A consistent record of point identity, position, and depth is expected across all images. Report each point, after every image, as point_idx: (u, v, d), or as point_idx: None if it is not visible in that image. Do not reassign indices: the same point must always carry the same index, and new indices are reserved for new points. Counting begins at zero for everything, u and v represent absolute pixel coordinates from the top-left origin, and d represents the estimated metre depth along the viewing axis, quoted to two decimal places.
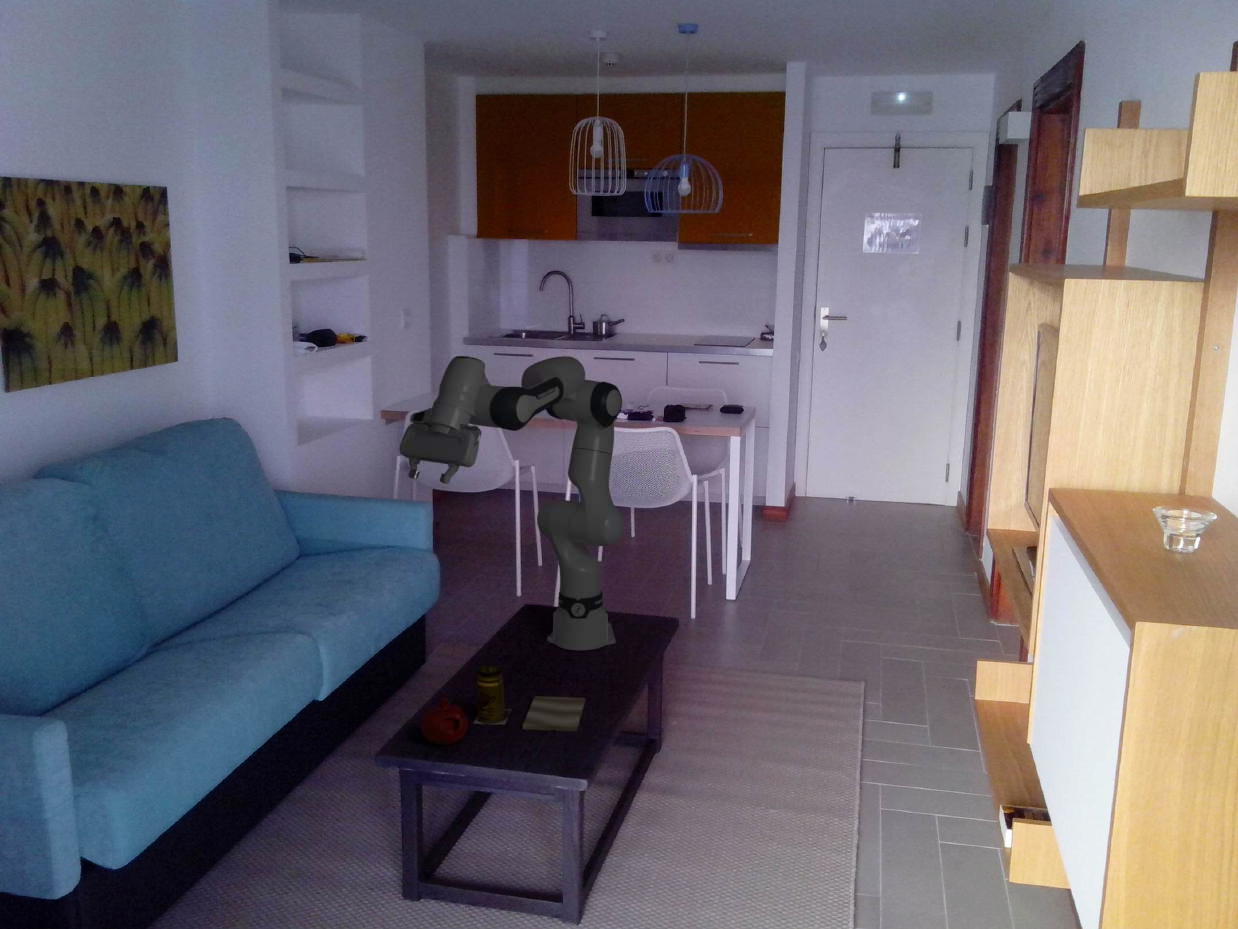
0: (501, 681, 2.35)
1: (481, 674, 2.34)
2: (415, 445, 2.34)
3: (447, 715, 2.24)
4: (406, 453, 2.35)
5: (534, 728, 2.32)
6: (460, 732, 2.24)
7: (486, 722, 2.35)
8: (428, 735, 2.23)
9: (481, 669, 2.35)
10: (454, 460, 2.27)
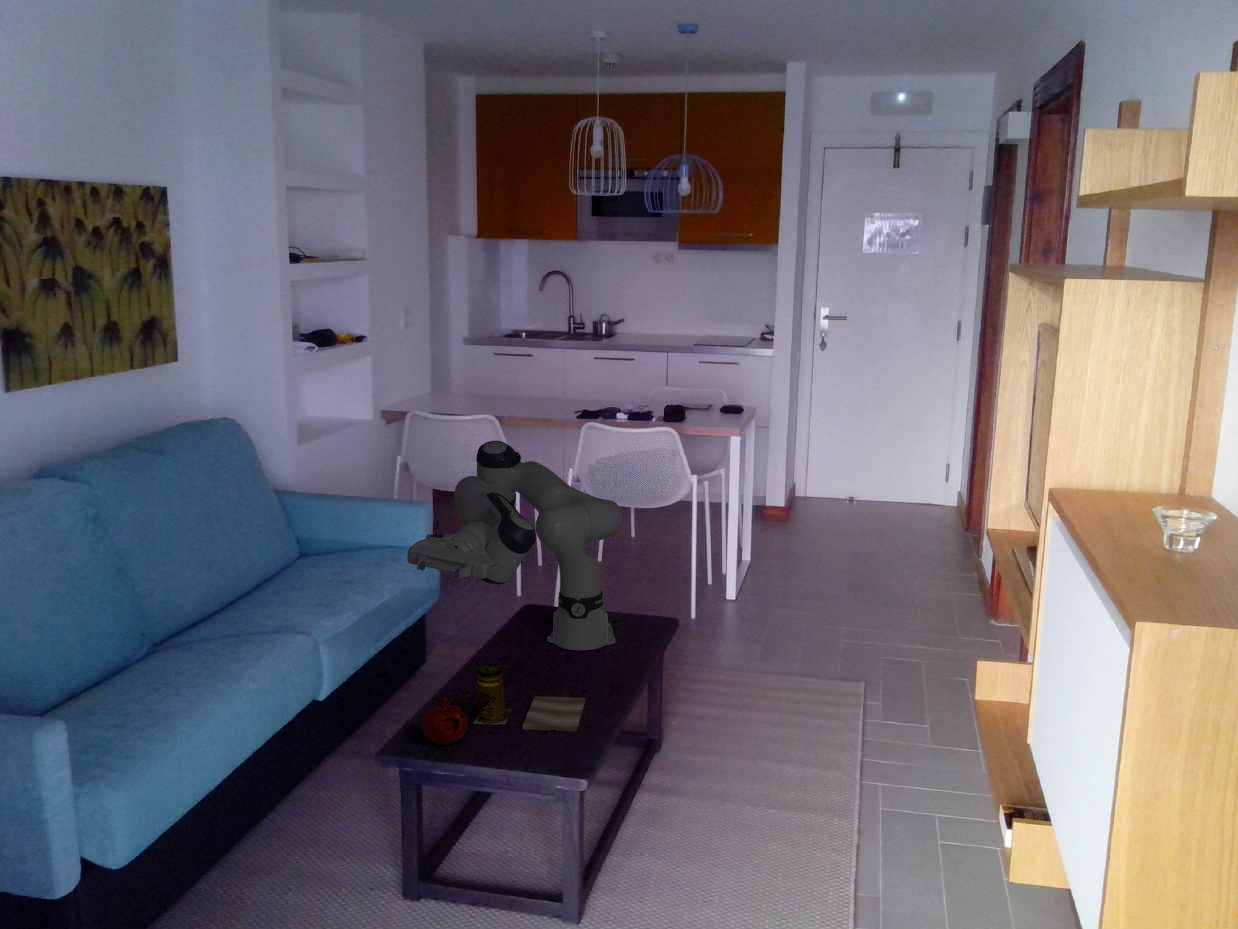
0: (501, 681, 2.35)
1: (481, 674, 2.34)
2: (429, 550, 2.52)
3: (447, 715, 2.24)
4: (418, 551, 2.50)
5: (534, 728, 2.32)
6: (460, 732, 2.24)
7: (486, 722, 2.35)
8: (428, 735, 2.23)
9: (481, 669, 2.35)
10: (475, 563, 2.48)
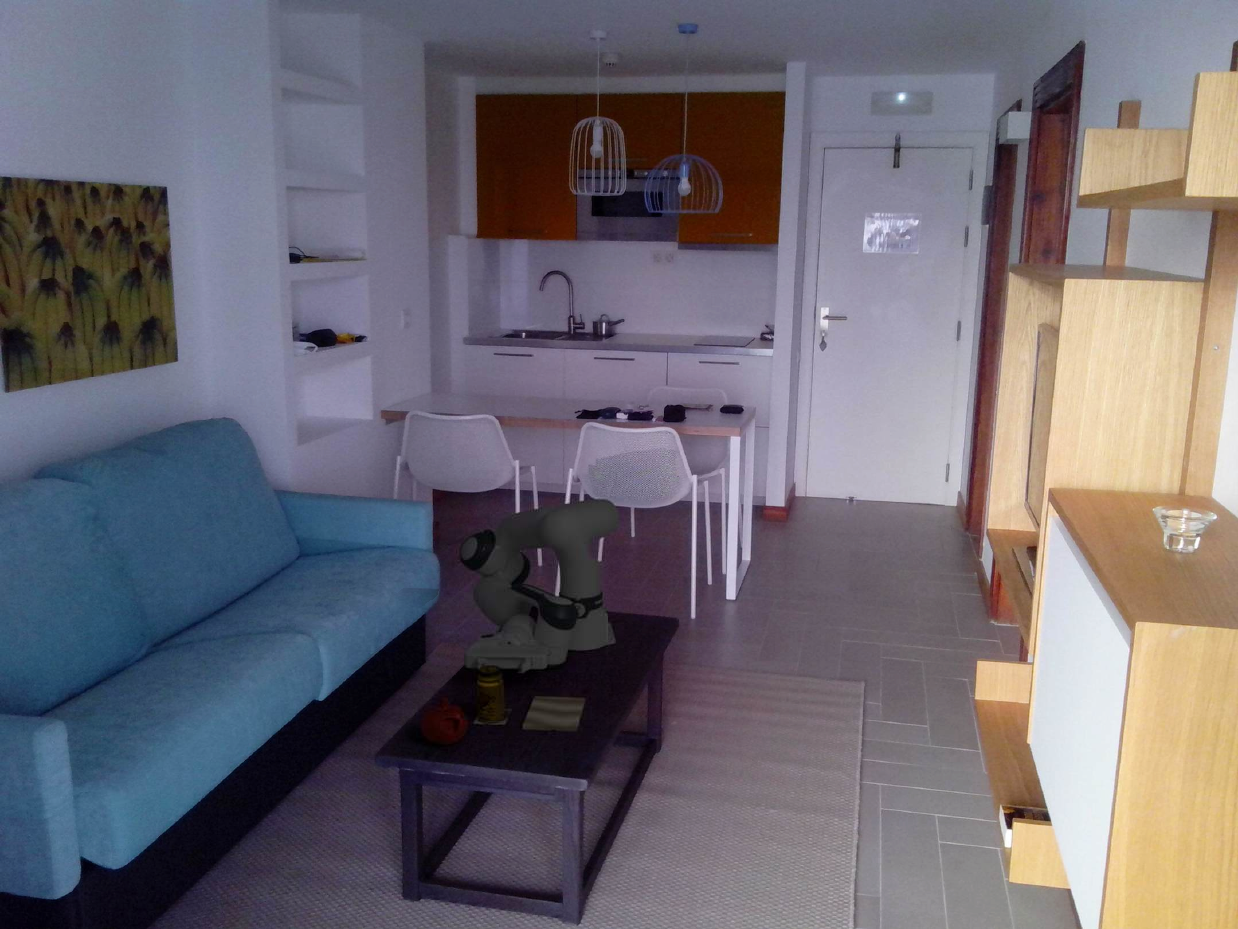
0: (501, 681, 2.35)
1: (481, 674, 2.34)
2: (484, 651, 2.54)
3: (447, 715, 2.24)
4: (474, 654, 2.52)
5: (534, 728, 2.32)
6: (460, 732, 2.24)
7: (486, 722, 2.35)
8: (428, 735, 2.23)
9: (481, 669, 2.35)
10: (534, 655, 2.51)
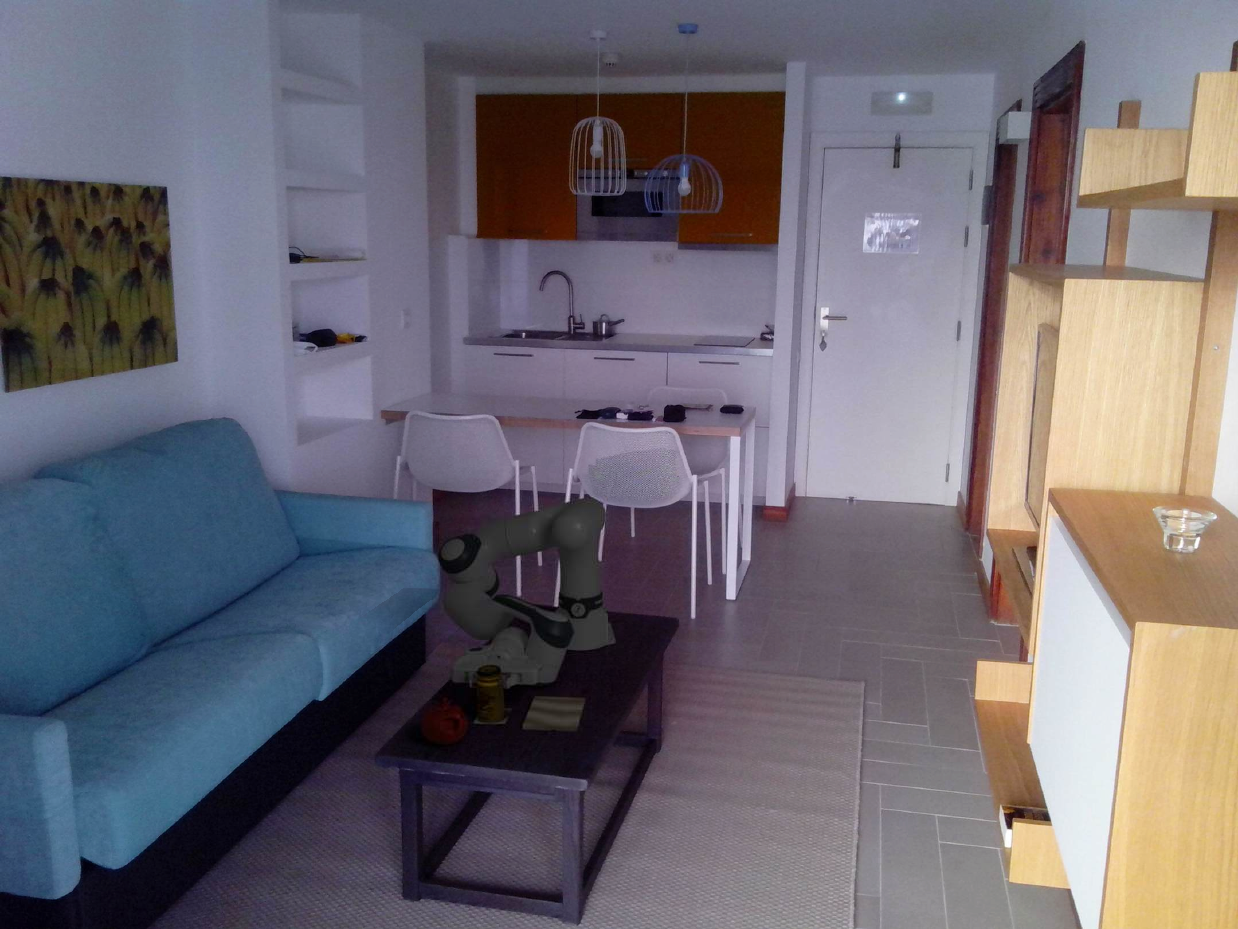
0: (500, 680, 2.35)
1: (480, 673, 2.34)
2: (472, 665, 2.43)
3: (447, 715, 2.24)
4: (462, 668, 2.41)
5: (534, 728, 2.32)
6: (460, 732, 2.24)
7: (486, 722, 2.35)
8: (428, 735, 2.23)
9: (480, 669, 2.35)
10: (524, 670, 2.39)
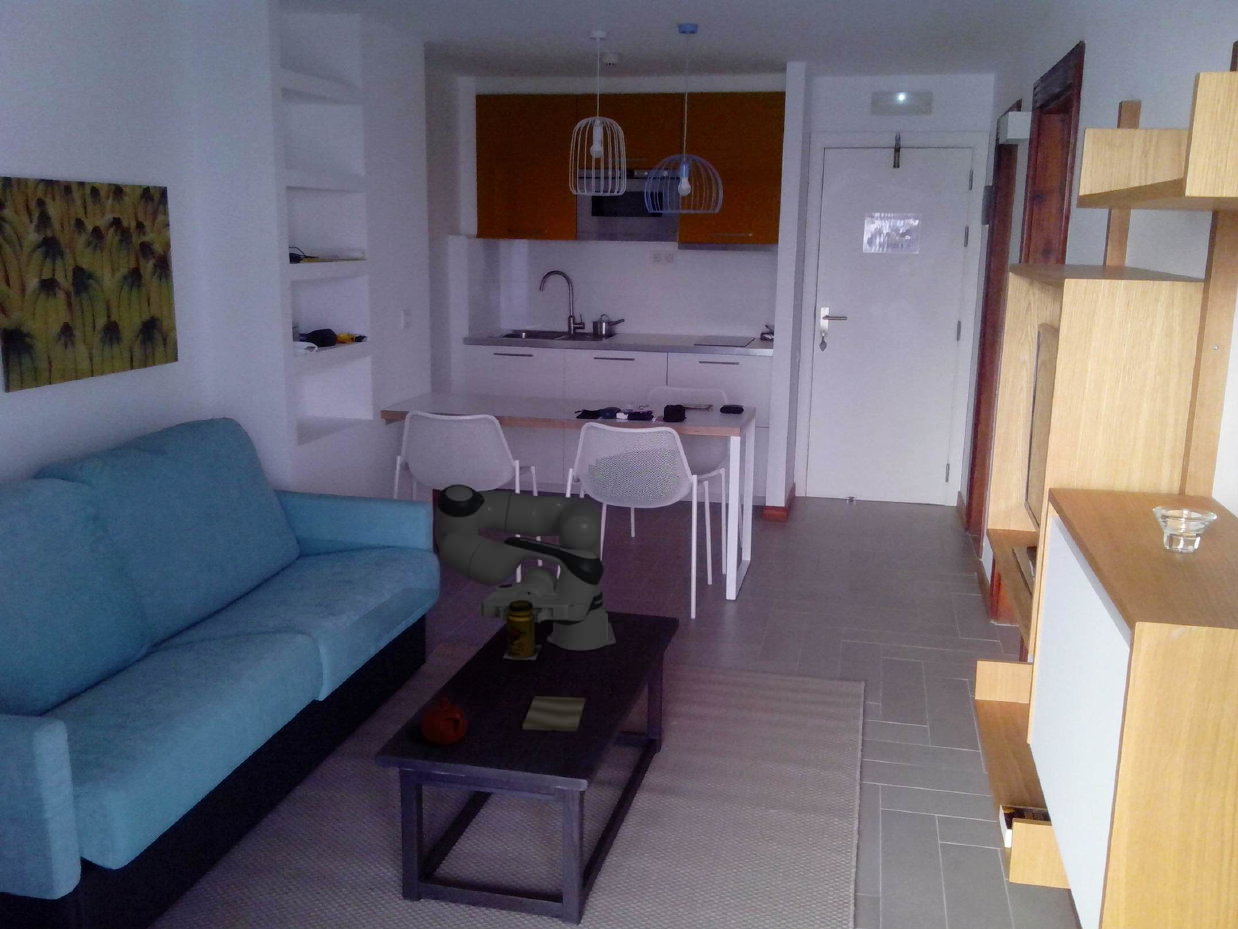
0: (532, 616, 2.32)
1: (512, 608, 2.31)
2: (502, 600, 2.40)
3: (447, 715, 2.24)
4: (492, 603, 2.38)
5: (534, 728, 2.32)
6: (460, 732, 2.24)
7: (516, 657, 2.32)
8: (428, 735, 2.23)
9: (512, 603, 2.33)
10: (555, 605, 2.37)
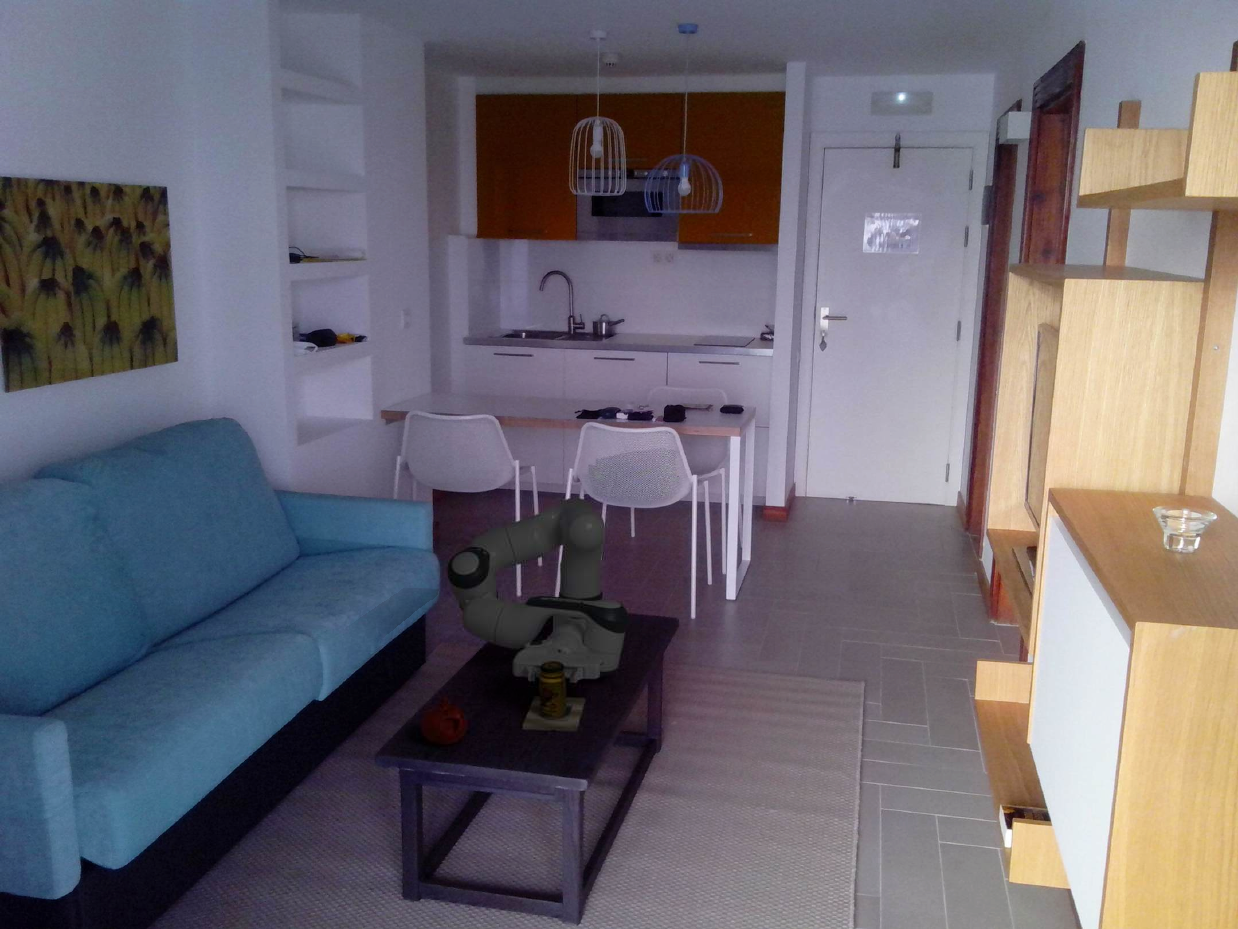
0: (563, 677, 2.35)
1: (544, 670, 2.33)
2: (534, 659, 2.42)
3: (447, 715, 2.24)
4: (523, 662, 2.40)
5: (534, 728, 2.32)
6: (460, 732, 2.24)
7: (548, 718, 2.34)
8: (428, 735, 2.23)
9: (543, 665, 2.35)
10: (586, 664, 2.38)
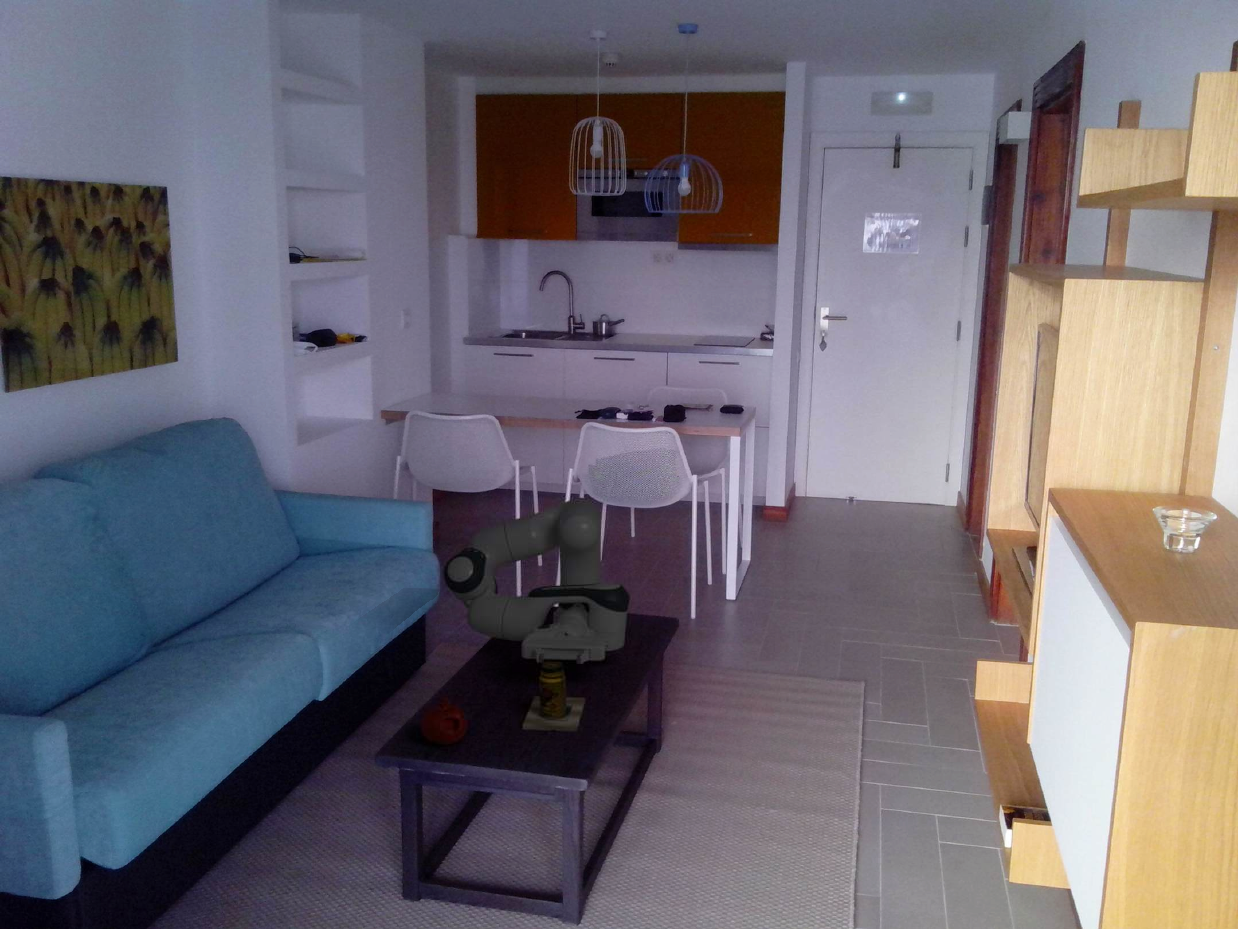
0: (563, 677, 2.35)
1: (544, 670, 2.33)
2: (542, 641, 2.52)
3: (447, 715, 2.24)
4: (532, 645, 2.50)
5: (534, 728, 2.32)
6: (460, 732, 2.24)
7: (548, 718, 2.34)
8: (428, 735, 2.23)
9: (543, 665, 2.35)
10: (592, 647, 2.49)
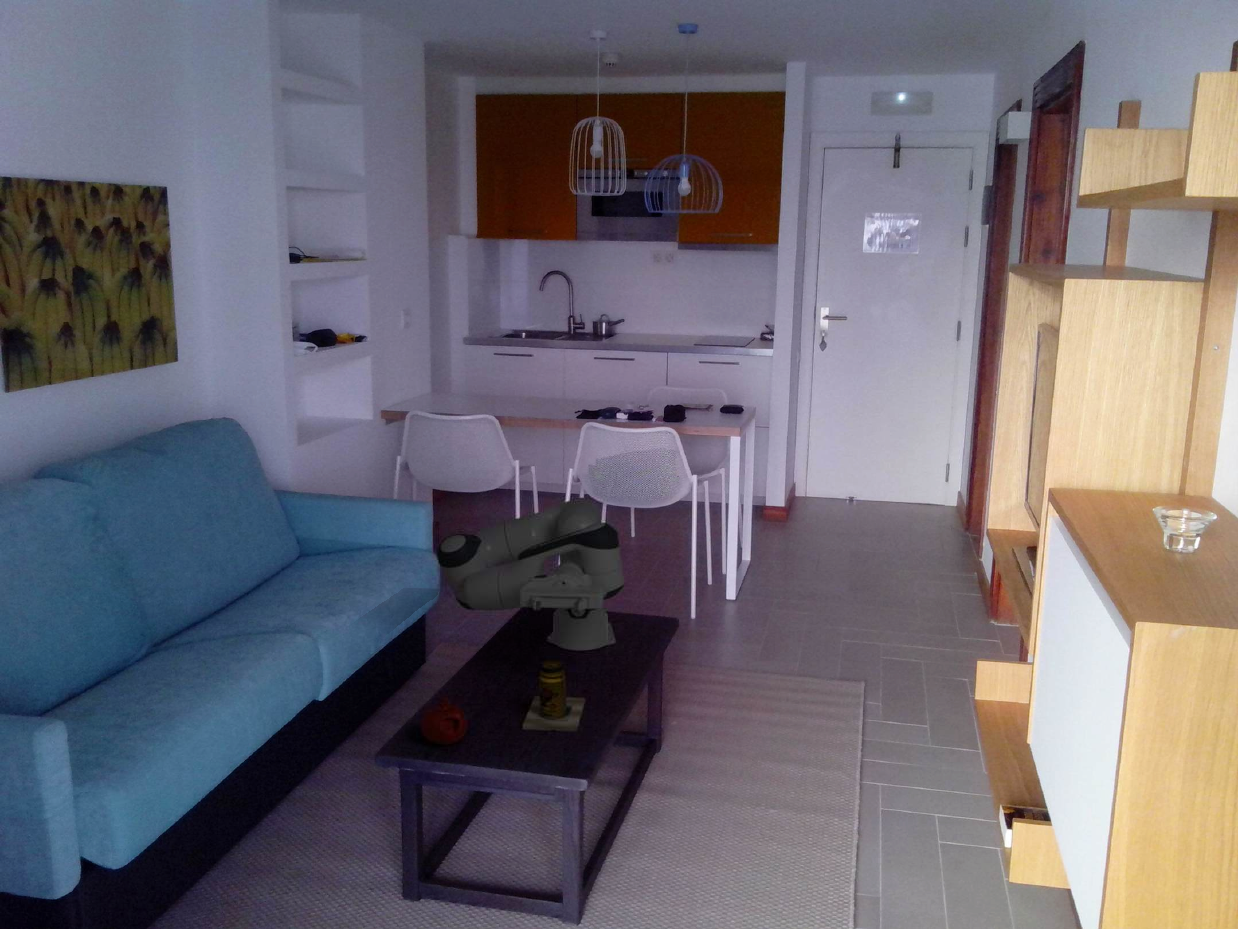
0: (563, 677, 2.35)
1: (544, 670, 2.33)
2: (539, 590, 2.47)
3: (447, 715, 2.24)
4: (529, 593, 2.45)
5: (534, 728, 2.32)
6: (460, 732, 2.24)
7: (548, 718, 2.34)
8: (428, 735, 2.23)
9: (543, 665, 2.35)
10: (590, 594, 2.44)
